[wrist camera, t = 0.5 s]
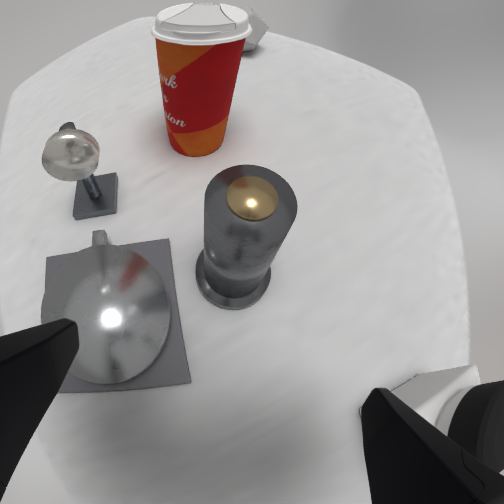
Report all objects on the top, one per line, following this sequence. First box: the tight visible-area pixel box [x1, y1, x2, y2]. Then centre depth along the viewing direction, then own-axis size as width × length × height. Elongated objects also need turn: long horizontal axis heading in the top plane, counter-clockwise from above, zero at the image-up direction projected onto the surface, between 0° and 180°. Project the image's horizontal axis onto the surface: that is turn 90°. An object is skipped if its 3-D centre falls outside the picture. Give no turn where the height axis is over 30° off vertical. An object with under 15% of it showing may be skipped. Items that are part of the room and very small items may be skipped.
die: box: [237, 6, 269, 52], centre depth 35 cm, size 8×9×10 cm
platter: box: [41, 230, 171, 384], centre depth 18 cm, size 11×10×1 cm
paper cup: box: [151, 3, 252, 157], centre depth 22 cm, size 8×8×14 cm
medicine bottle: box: [360, 364, 504, 473], centre depth 14 cm, size 7×7×12 cm
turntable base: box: [45, 238, 191, 392], centre depth 19 cm, size 11×11×1 cm
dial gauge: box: [42, 122, 118, 220], centre depth 19 cm, size 4×4×9 cm
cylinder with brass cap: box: [196, 165, 297, 310], centre depth 18 cm, size 6×6×10 cm
